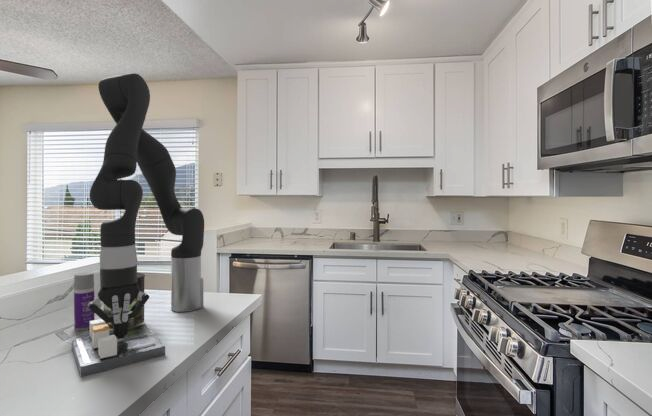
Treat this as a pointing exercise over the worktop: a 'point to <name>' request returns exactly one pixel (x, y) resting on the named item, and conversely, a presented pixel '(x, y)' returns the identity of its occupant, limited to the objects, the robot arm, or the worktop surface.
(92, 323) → the block
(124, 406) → the worktop surface
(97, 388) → the worktop surface
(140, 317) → the coffee can
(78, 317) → the container
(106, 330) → the block
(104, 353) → the breaker near
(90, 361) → the breaker panel
